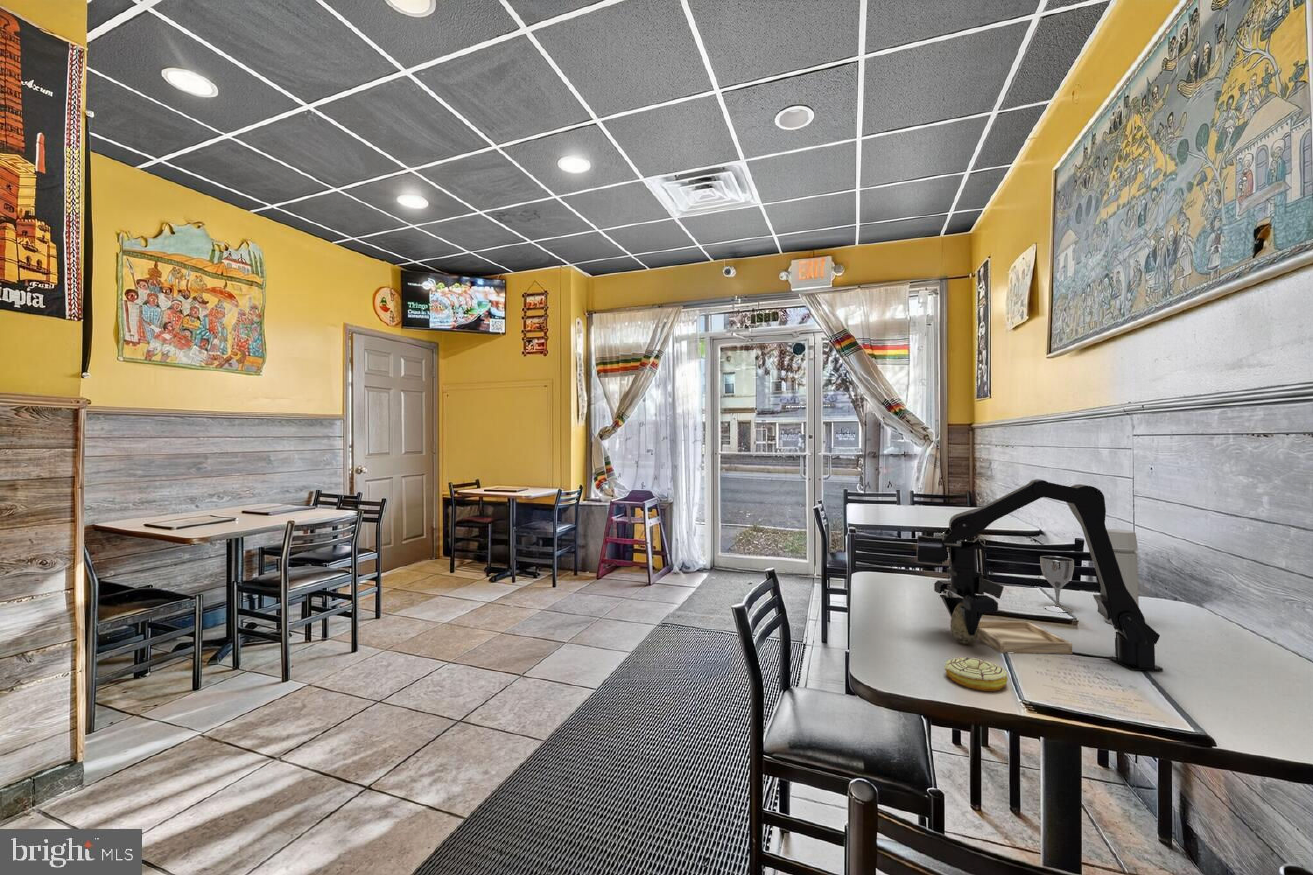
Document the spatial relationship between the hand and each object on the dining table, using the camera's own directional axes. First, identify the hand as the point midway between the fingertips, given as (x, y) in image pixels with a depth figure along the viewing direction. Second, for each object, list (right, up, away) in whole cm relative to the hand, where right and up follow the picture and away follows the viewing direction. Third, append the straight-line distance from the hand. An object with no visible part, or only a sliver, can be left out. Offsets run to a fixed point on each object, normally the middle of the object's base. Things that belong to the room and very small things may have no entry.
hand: (964, 630), depth 130 cm
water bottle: (+51, -4, +15) cm, 53 cm away
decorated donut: (-10, -3, -22) cm, 24 cm away
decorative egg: (0, -3, 0) cm, 3 cm away
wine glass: (+43, -4, +28) cm, 52 cm away
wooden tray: (+13, -3, +1) cm, 13 cm away
